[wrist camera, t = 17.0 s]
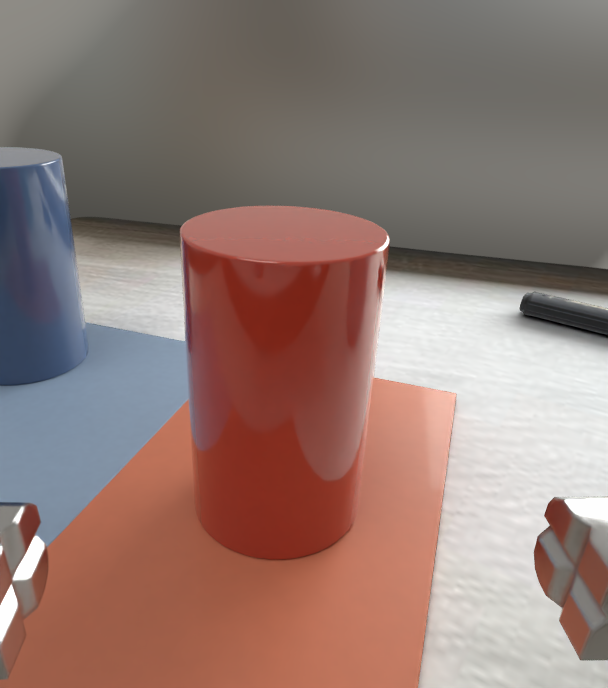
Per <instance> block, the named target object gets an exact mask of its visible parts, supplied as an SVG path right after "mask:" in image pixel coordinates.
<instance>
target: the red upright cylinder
mask: <svg viewBox="0 0 608 688" xmlns="http://www.w3.org/2000/svg"><path fill="white" fill-rule="evenodd" d="M389 243H390V239H389V236H388V234H387V232H386V231H385V230H384V229H383V228H381V227H380V226H378V225H376V224H374V223H372V222H370V221H367V220H365V219H362V218H359V217H356V216H352V215H349V214H344V213H340V212H334V211H329V210H322V209H316V208H306V207H293V206H249V207H237V208H229V209H223V210H217V211H213V212H208V213H205V214H202V215H199V216H196V217H194V218H192V219H190V220H188V221H187V222H186V223H184V224H183V225H182V227H181V229H180V251H181V269H182V287H183V306H184V324H185V342H186V360H187V379H188V397H189V415H190V433H191V452H192V470H193V488H194V505H195V511H196V514H197V517H198V520H199V521H200V523H201V525H202V526H203V528H204V529H205V530H206V531H207V533H208V534H209V535H210V536H211V537H212V538H213V539H215V540H216V541H217V542H218V543H220V544H222V545H223V546H225V547H226V548H228V549H230V550H232V551H235V552H237V553H240V554H243V555H246V556H250V557H254V558H260V559H268V560H285V559H295V558H300V557H305V556H308V555H311V554H314V553H317V552H319V551H322V550H324V549H326V548H328V547H329V546H331V545H333V544H334V543H336V542H337V541H338V540H339V539H340V538H342V537H343V536H344V535H345V533H346V532H347V531H348V530H349V529H350V527H351V526H352V524H353V523H354V520H355V518H356V516H357V512H358V508H359V499H360V491H361V482H362V474H363V465H364V457H365V448H366V440H367V431H368V423H369V414H370V406H371V397H372V389H373V380H374V372H375V363H376V355H377V346H378V337H379V329H380V320H381V312H382V303H383V295H384V286H385V278H386V269H387V261H388V252H389Z"/></svg>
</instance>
